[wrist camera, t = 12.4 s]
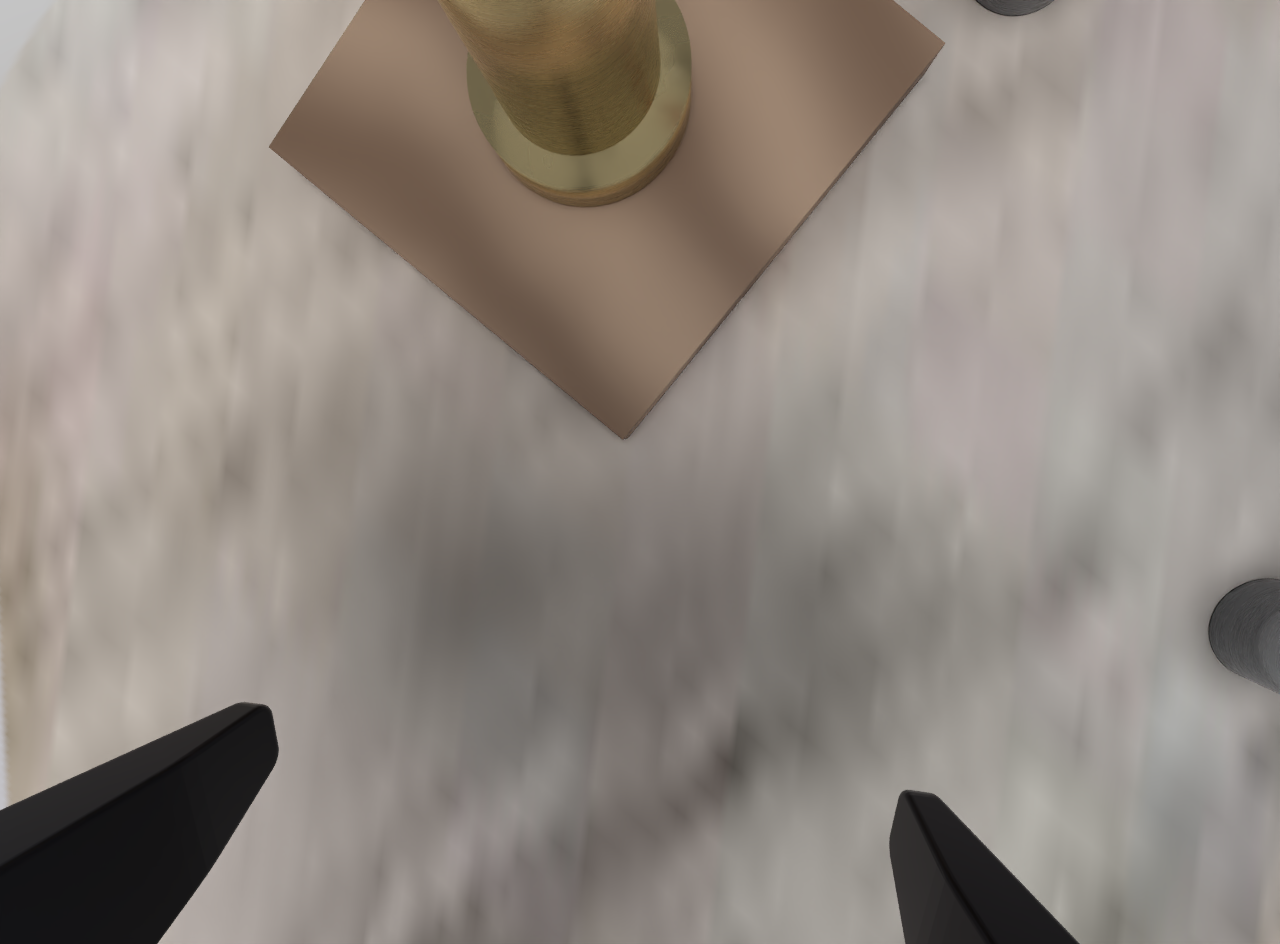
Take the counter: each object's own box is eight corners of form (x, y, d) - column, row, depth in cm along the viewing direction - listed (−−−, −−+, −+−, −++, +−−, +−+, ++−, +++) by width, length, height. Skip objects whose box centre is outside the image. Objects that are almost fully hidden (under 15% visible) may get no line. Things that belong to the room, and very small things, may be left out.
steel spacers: (1266, 699, 19) (1474, 804, 14) (717, 247, 19) (725, 188, 14) (1685, 309, 17) (2107, 265, 12) (1067, -193, 17) (1225, -448, 12)
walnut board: (628, 437, 20) (622, 439, 18) (300, 167, 20) (268, 146, 18) (923, 74, 18) (945, 42, 16) (561, -223, 18) (549, -281, 16)
